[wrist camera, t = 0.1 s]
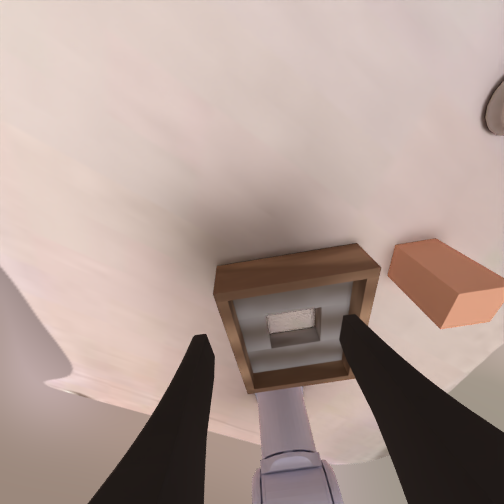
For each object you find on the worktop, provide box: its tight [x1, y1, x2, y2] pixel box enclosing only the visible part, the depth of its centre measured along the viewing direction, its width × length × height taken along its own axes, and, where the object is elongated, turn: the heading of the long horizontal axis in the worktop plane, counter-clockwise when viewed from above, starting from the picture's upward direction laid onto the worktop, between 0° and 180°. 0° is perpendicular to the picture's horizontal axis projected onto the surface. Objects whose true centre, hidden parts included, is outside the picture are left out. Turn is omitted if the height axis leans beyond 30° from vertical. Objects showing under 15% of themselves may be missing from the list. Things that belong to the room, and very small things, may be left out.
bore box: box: [213, 243, 381, 394], centre depth 24 cm, size 18×14×4 cm
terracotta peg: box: [388, 238, 504, 329], centre depth 19 cm, size 4×4×7 cm
